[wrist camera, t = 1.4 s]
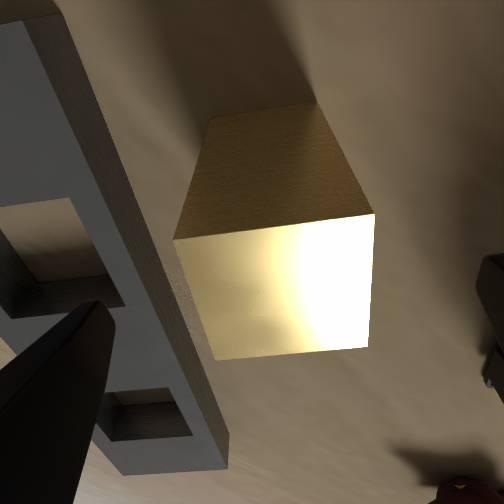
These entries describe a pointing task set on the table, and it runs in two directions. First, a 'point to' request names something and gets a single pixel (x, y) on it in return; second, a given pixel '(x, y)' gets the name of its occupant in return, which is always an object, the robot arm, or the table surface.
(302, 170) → the brass peg
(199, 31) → the table surface
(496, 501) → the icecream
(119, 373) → the rail
